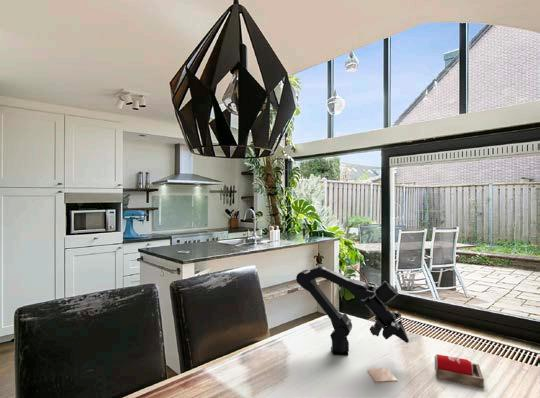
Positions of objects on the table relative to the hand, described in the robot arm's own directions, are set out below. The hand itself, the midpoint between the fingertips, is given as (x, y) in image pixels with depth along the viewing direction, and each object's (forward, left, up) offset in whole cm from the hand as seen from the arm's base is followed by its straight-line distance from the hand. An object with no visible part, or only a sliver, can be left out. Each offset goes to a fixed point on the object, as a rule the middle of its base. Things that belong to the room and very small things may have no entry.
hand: (408, 341), depth 127 cm
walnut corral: (+15, -6, -9) cm, 19 cm away
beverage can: (+8, -4, -6) cm, 11 cm away
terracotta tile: (-12, -8, -10) cm, 18 cm away
